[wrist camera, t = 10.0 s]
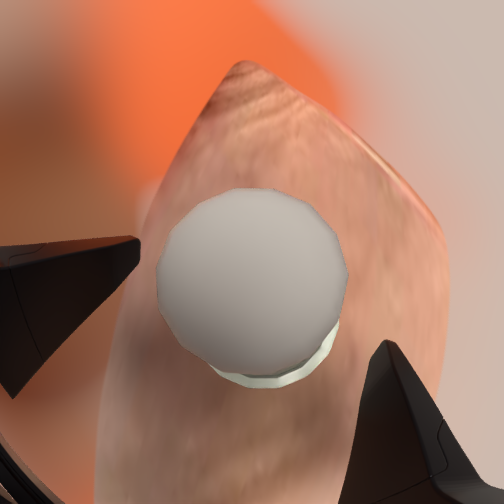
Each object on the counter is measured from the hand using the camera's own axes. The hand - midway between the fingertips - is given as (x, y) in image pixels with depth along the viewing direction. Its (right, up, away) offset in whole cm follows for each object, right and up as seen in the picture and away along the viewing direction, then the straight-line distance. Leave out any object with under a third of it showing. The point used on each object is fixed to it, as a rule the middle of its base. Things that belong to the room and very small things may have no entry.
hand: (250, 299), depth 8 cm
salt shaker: (+1, -3, +9) cm, 10 cm away
